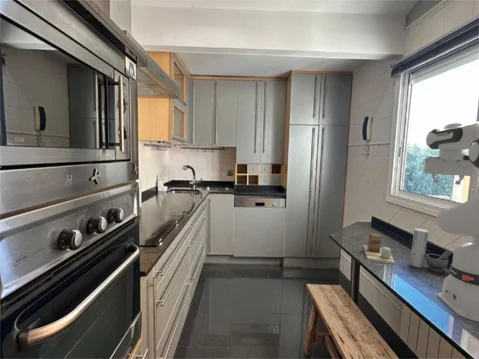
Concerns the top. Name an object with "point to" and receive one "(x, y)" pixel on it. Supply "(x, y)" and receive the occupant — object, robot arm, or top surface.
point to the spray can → (418, 247)
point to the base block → (373, 247)
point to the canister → (385, 252)
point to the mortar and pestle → (438, 261)
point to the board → (377, 256)
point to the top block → (374, 238)
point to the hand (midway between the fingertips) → (446, 183)
